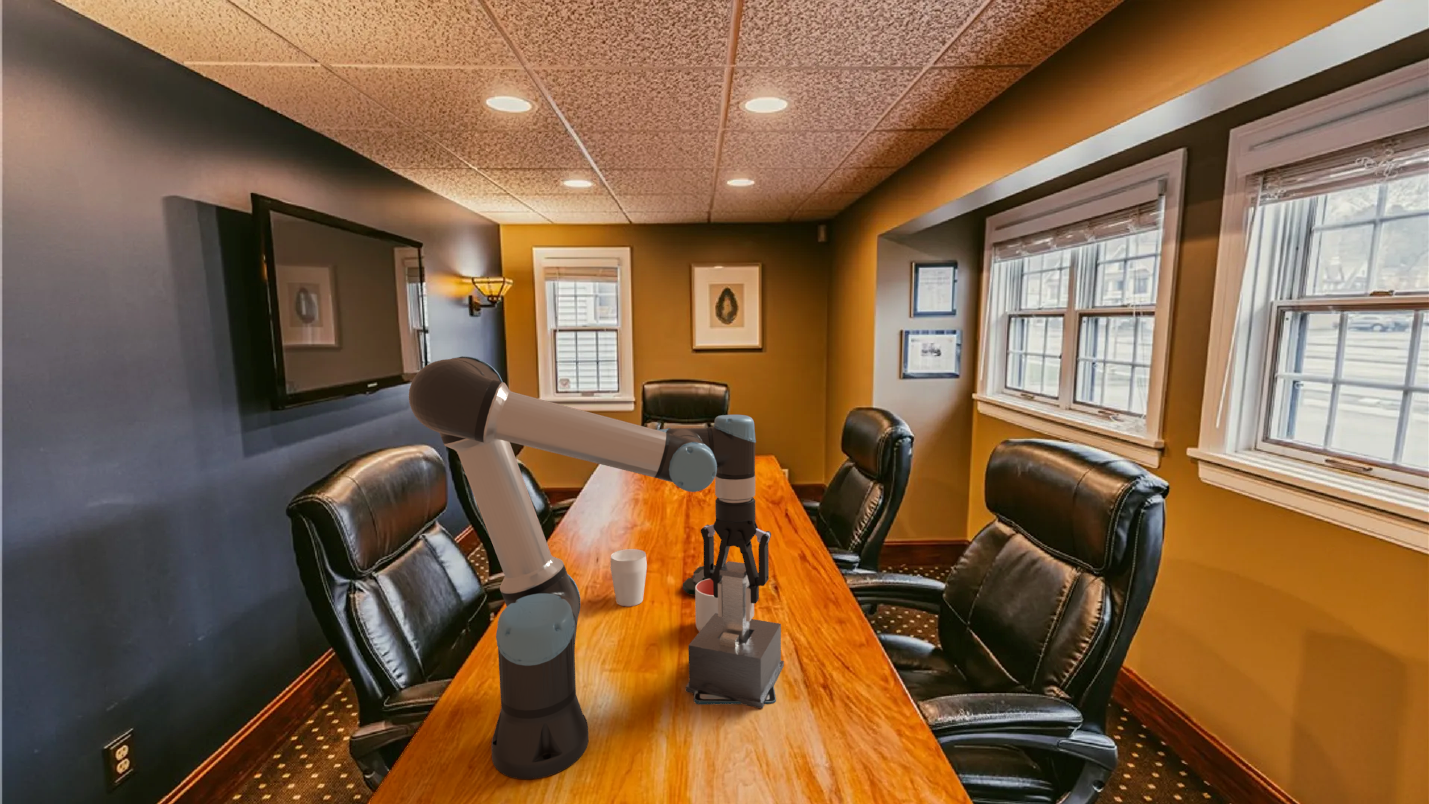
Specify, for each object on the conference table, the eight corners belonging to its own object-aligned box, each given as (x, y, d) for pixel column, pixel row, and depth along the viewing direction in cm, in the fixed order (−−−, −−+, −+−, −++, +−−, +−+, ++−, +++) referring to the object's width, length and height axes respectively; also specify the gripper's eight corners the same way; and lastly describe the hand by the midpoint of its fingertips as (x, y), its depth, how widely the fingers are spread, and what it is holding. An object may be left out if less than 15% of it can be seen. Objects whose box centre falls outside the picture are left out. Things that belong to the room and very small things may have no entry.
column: (744, 680, 114) (743, 573, 112) (720, 675, 116) (719, 570, 114) (752, 667, 119) (751, 564, 116) (729, 662, 120) (728, 561, 118)
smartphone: (776, 702, 109) (693, 701, 109) (776, 707, 109) (693, 706, 109) (772, 679, 116) (694, 678, 116) (772, 683, 117) (694, 682, 116)
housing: (762, 708, 108) (762, 652, 107) (685, 691, 113) (684, 638, 112) (783, 665, 122) (783, 615, 120) (714, 652, 127) (713, 604, 126)
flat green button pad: (745, 607, 149) (745, 589, 148) (678, 597, 155) (677, 580, 154) (763, 579, 166) (763, 563, 165) (702, 571, 172) (701, 556, 171)
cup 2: (701, 642, 131) (701, 598, 130) (691, 621, 141) (690, 580, 140) (745, 636, 134) (745, 592, 133) (732, 616, 143) (732, 575, 142)
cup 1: (641, 610, 147) (639, 562, 146) (606, 607, 149) (604, 560, 147) (652, 594, 156) (651, 549, 154) (619, 592, 157) (617, 547, 156)
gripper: (786, 496, 114) (786, 614, 116) (698, 488, 120) (700, 600, 123) (776, 507, 107) (776, 632, 109) (683, 498, 113) (685, 617, 116)
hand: (736, 615), depth 116 cm, fingers open, 5 cm apart
